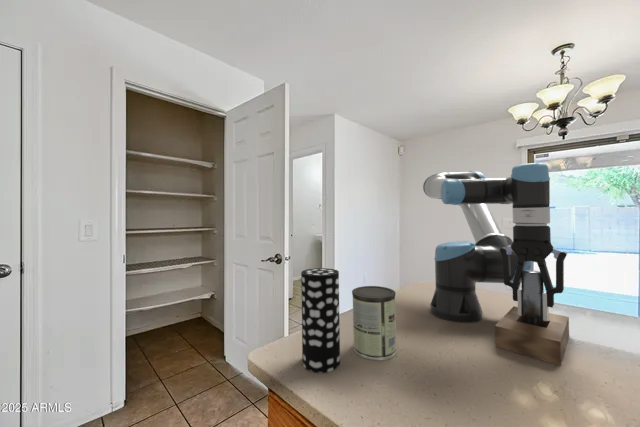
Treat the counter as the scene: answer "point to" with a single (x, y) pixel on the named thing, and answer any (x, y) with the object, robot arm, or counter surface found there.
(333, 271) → the spotted tube
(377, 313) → the coffee can
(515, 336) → the socket block
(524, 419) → the counter surface
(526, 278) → the peg
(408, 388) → the counter surface
